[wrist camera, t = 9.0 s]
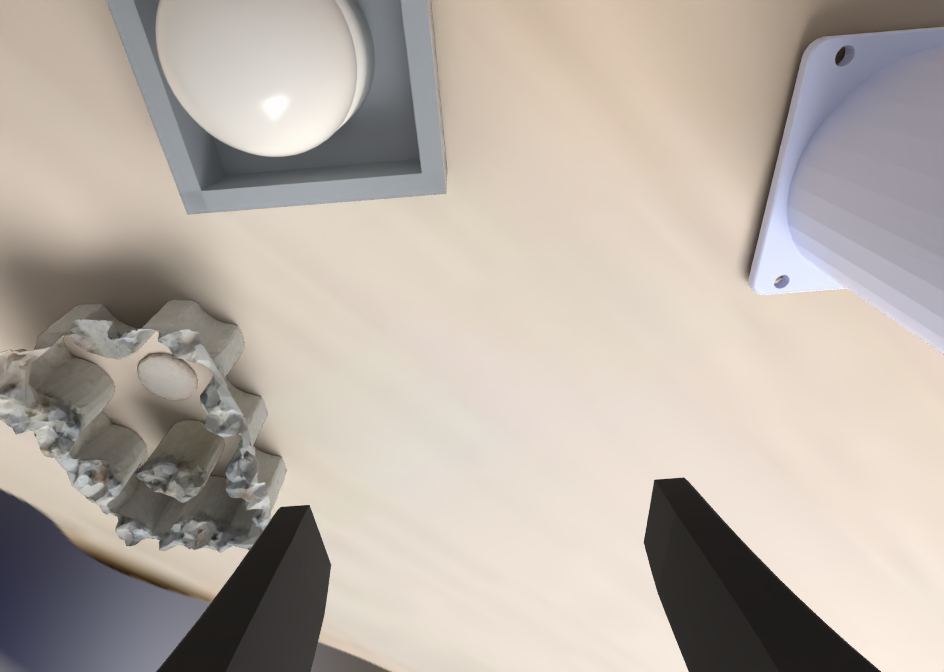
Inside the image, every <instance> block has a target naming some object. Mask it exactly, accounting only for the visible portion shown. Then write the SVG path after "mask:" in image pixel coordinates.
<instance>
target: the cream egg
mask: <svg viewBox="0 0 944 672" xmlns="http://www.w3.org/2000/svg"><path fill="white" fill-rule="evenodd" d="M155 30H156V44H157V50H158V56H159V59H160V63H161V66H162V70H163V72H164V75H165V77H166V79H167V82H168V84H169V86H170V88H171V89H172V91H173V93H174V95H175V96H176V98H177V99H178V101H179V102H180V104H181V105H182V107H183V108H184V109H185V110H186V111H187V113H188V114H189V115H190V116H191V117H192V118H193V119H194V120H195V121H196V122H197V123H198V124H199V125H200V126H201V127H202V128H203V129H204V130H206V131H207V132H208V133H209V134H211V135H212V136H214V137H215V138H217V139H218V140H220V141H221V142H223V143H225V144H227V145H229V146H231V147H233V148H236V149H239V150H241V151H244V152H247V153H251V154H255V155H259V156H267V157H284V156H291V155H297V154H300V153H303V152H306V151H308V150H310V149H313V148H315V147H317V146H318V145H320V144H321V143H323V142H324V141H326V140H327V139H328V138H329V137H331V136H332V135H333V134H334V133H335V132H336V131H337V130H338V129H339V128H340V127H341V126H342V125H343V124H345V123H346V122H347V121H348V120H349V119H350V118H351V117H352V116H353V115H354V114H355V113H356V112H357V111H358V110H359V109H360V107H361V106H362V105H363V103H364V101H365V100H366V98H367V96H368V93H369V91H370V89H371V85H372V81H373V77H374V70H375V51H374V43H373V39H372V34H371V31H370V28H369V25H368V22H367V20H366V18H365V16H364V13H363V12H362V10H361V8H360V6H359V5H358V3H357V2H356V0H160V1H159V5H158V10H157V14H156V27H155Z"/></svg>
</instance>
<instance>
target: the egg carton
mask: <svg viewBox="0 0 944 672" xmlns="http://www.w3.org/2000/svg"><path fill="white" fill-rule="evenodd" d="M155 331H157V332H159V338H158V342H161V343H163V344H164V345H166V346H168V347H169V349H170V350H171V352H172V354H173V355H174V356H173V355H170V354H166V353H155V354H151V355H148V356H147V357H145V358H144V359H142V360H141V361H140V364H139V366H138V368H137V370H138V376H139V379H140V381H141V382H142V385H144V386H145V387H146V388H147V389H148V390H149V391H151V392H152V393H154V394H155V395H157V396H160V397H162V398H165V399H168V400H182V399H186V398H188V397H190V396H191V395H193V394H194V392H195V390H196V389H197V384H198V379H197V375H196V373H195V372H194V370H193V369H192V368H191V367H190V366H189V365H188V364H187V363H186V362H184V361H183V360H181V359H187V360H189V361H191V362H195V363H200V364H203V365H204V366H206V367H207V368H208V369H209V370H210V371H211V372H212V373H213V374H214V376H213V378H212V380H211V381H210V383H209V384H208V386H207V387H206V388H205V390H204V391H203V393H202V394H201V395H200V401H201V405H202V407H203V410H204V412H205V414H206V417H207V418H206V424H205V423H203V422H201V421H195V420H184V421H180V422H177V423H175V424H174V425H173V426H172V427H171V429H170V430H169V431H168V433H167V434H166V435H165V437H164V438H163V439H162V441H161V442H160V444H159V445H158V447H157V448H156V449H155V451H154V452H153V453H152V455H151V456H150V458H149V459H148V460H147V462H146V463H145V464H144V465H143V466H142V467H141V468H140V469H139V470H138V471H137V472H136V473H135V470H136V469H137V467H138V466H139V464H140V463H141V461H142V460H143V458H144V457H145V455H146V454H147V446H146V443H145V442H144V440H143V439H142V438H141V437H140V436H139V435H138V434H137V433H135V432H134V431H133V430H131V429H128V428H126V427H123V426H119V425H115V424H112V423H111V421H110V420H109V418H108V417H107V416H106V415H105V414H104V412H103V411H102V410H103V408H104V407H105V406H106V404H107V403H108V402H109V401H110V399H111V398H112V396H113V394H114V391H115V386H114V383H113V380H112V379H111V378H110V376H109V375H108V374H107V373H106V372H105V371H104V370H103V369H102V368H101V367H99V366H98V365H96V364H94V363H91V362H89V361H86V360H84V359H80V358H74V357H73V356H72V355H71V354H70V352H69V350H68V349H67V347H66V345H65V343H64V341H63V337H64V336H71V337H72V339H73V340H74V342H75V343H76V344H77V345H78V346H80V347H81V348H83V349H84V350H85V351H87V352H91V353H94V354H97V355H101V356H104V357H107V358H112V359H122V358H125V357H128V356H130V355H132V354H134V353H136V352H137V351H138V350H139V349H140V348H141V347H142V346H143V345H144V344H145V343H146V341H147V340H148V339H149V338H150V337H151V336H152V335H153V334H154V333H155ZM244 349H245V342H244V338H243V335H242V332H241V330H240V328H239V327H238V326H236V325H234V324H227V323H223V322H220V321H217V320H215V319H214V318H212V317H211V316H209V315H208V314H207V313H206V312H205V311H204V310H203V309H202V308H201V306H200V305H199V304H198V303H197V302H195V301H193V300H175V299H174V300H170V301H168V302H167V303H166V304H165V305H164V306H163V307H162V308H161V309H160V311H159V312H158V313H156V314H155V315H154V316H153V317H152V318H151V319H150V320H149V322H148V323H147V324H146V325H144V326H143V327H142V328H141V329H139V328H134V327H131V326H128V325H126V324H124V323H122V322H120V321H119V320H117V319H116V318H115V317H114V316H113V315H112V314H111V313H110V312H109V311H108V310H107V309H106V307H105V306H104V305H102V304H81V305H76V306H75V307H74V308H72V309H71V310H70V311H69V312H67V313H66V314H65V315H64V316H62V317H61V318H60V319H59V320H57V321H56V322H54V323H53V324H51V325H50V326H49V327H48V329H47V330H46V331H45V332H43V333H41V334H40V335H39V336H38V337H37V341H36V346H35V348H34V350H32V351H27V350H25V349H20V350H16V351H12V350H7V351H4V352H1V353H0V420H2V421H4V422H5V423H6V424H7V425H8V426H10V427H12V428H13V430H14V432H15V434H20V433H23V432H26V431H33V432H34V435H35V437H36V439H37V441H38V443H39V446H40V450H41V451H42V453H43V454H44V456H46V457H51V458H55V459H56V460H57V462H58V463H59V464H60V465H61V466H62V467H63V468H64V469H65V470H66V471H67V474H68V477H69V479H70V482H71V485H72V486H73V487H74V488H75V489H77V490H78V491H79V492H80V493H81V494H82V495H84V496H85V497H86V498H87V499H88V500H90V501H91V502H92V503H94V504H97V505H99V506H100V508H101V510H102V511H103V513H105V514H107V515H114V516H117V517H118V523H117V526H116V530H115V531H116V533H117V535H118V537H119V538H120V539H122V540H125V543H126V546H133V545H136V544H137V543H139V542H140V541H141V540H143V539H146V538H152V539H158V540H160V541H159V550H161V551H166V550H168V549H170V548H173V547H175V546H177V545H184V546H185V547H187V548H188V549H191V548H192V549H194V550H196V549H200V548H210V549H213V550H217V551H219V552H220V553H221V552H223V551H224V550H226V549H228V548H229V547H231V546H236V547H240V548H244V549H248V550H250V549H251V548H252V546H253V545H254V543H255V542H256V540H257V539H258V538H259V536H260V535H261V533H262V532H263V530H264V529H265V527H266V526H267V525H268V523H269V522H270V520H271V519H270V514H271V510H272V509H273V506H274V504H275V502H276V499H277V496H278V493H279V490H280V488H281V486H282V484H283V481H284V477H285V474H286V472H287V469H286V466H285V463H284V460H283V458H282V457H279V456H274V455H270V454H267V453H264V452H262V451H260V450H258V449H257V448H255V447H254V446H253V445H254V443H255V441H256V439H257V436H258V434H259V432H260V430H261V428H262V426H263V423H264V421H265V420H266V418H267V416H268V412H267V409H266V406H265V402H264V400H263V398H262V397H261V396H256V395H252V394H247V393H245V392H243V391H241V390H239V389H237V388H236V387H234V386H233V385H232V384H231V383H230V381H229V380H228V379H227V378H226V375H227V374H228V373H229V371H230V370H231V368H232V366H233V365H234V363H235V362H236V361H237V359H238V358H239V356H240V355H241V353H242V352H243V350H244ZM179 358H181V359H179ZM232 435H239V436H241V437H242V441H241V443H240V444H239V447H238V449H237V451H236V453H235V455H234V457H233V459H232V460H231V461H230V462H229V464H228V466H227V467H226V471H225V474H226V476H227V477H226V478H225V477H219V476H210V474H211V472H212V471H213V469H214V467H215V465H216V463H217V461H218V459H219V457H220V455H221V454H222V452H223V449H224V445H225V444H224V439H223V437H224V438H226V437H229V436H232Z"/></svg>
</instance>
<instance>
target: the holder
mask: <svg viewBox="0 0 944 672" xmlns="http://www.w3.org/2000/svg"><path fill="white" fill-rule="evenodd" d="M106 1H107V3H108V6H109V9H110V11H111V14H112V16H113V19H114V22H115V24H116V27H117V30H118V32H119V35H120V38H121V40H122V43H123V46H124V48H125V51H126V53H127V56H128V59H129V61H130V64H131V67H132V69H133V72H134V75H135V77H136V80H137V82H138V85H139V88H140V90H141V93H142V96H143V98H144V101H145V104H146V106H147V109H148V112H149V114H150V117H151V119H152V122H153V125H154V127H155V130H156V133H157V135H158V138H159V141H160V143H161V146H162V148H163V151H164V154H165V156H166V159H167V162H168V164H169V167H170V170H171V172H172V175H173V178H174V180H175V183H176V185H177V188H178V191H179V193H180V196H181V199H182V201H183V204H184V207H185V209H186V212H187V214H200V213H212V212H225V211H237V210H250V209H262V208H275V207H287V206H300V205H312V204H324V203H337V202H349V201H362V200H374V199H387V198H399V197H412V196H424V195H436V194H446V187H447V163H446V153H445V142H444V132H443V121H442V111H441V101H440V90H439V80H438V69H437V59H436V48H435V38H434V27H433V17H432V6H431V0H356V2H357V3H358V5H359V6H360V8H361V10H362V12H363V13H364V16H365V18H366V20H367V22H368V25H369V28H370V31H371V34H372V39H373V43H374V51H375V70H374V77H373V81H372V85H371V89H370V91H369V93H368V96H367V98H366V100H365V101H364V103H363V105H362V106H361V107H360V109H359V110H358V111H357V112H356V113H355V114H354V115H353V116H352V117H351V118H350V119H349V120H348V121H347V122H346V123H345V124H343V125H342V126H341V127H340V128H339V129H338V130H337V131H336V132H335V133H334V134H333V135H332V136H331V137H329V138H328V139H327V140H326V141H324V142H323V143H321V144H320V145H318V146H317V147H315V148H313V149H310V150H308V151H306V152H303V153H300V154H297V155H291V156H284V157H267V156H259V155H255V154H251V153H247V152H244V151H241V150H239V149H236V148H233V147H231V146H229V145H227V144H225V143H223V142H221V141H220V140H218V139H217V138H215V137H214V136H212V135H211V134H209V133H208V132H207V131H206V130H204V129H203V128H202V127H201V126H200V125H199V124H198V123H197V122H196V121H195V120H194V119H193V118H192V117H191V116H190V115H189V114H188V113H187V111H186V110H185V109H184V108H183V107H182V105H181V104H180V102H179V101H178V99H177V98H176V96H175V95H174V93H173V91H172V89H171V88H170V86H169V84H168V82H167V79H166V77H165V75H164V72H163V70H162V66H161V63H160V59H159V56H158V50H157V44H156V30H155V27H156V14H157V10H158V5H159V1H160V0H106Z"/></svg>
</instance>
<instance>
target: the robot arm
mask: <svg viewBox="0 0 944 672" xmlns="http://www.w3.org/2000/svg"><path fill="white" fill-rule="evenodd" d="M842 47H844V48H845V56H844V58H843V60H842V61H841V62H840V63H839V64H837V65H836V63H835V56H836V54H837V52H838V51H839V50H840V49H841V48H842ZM782 275H783V278H782V280H781V281H779V282H778V283H775V284H774V282H775V280H776V279H777V278H778V277H779V276H782ZM748 285H749V287H750V288H751V289H752V290H753V291H754V292H755V293H757V294H759V295H769V294H782V293H795V292H808V291H821V290H834V289H848V290H850V291H851V292H853V293H854V294H855V295H857V296H858V297H860V298H861V299H863V300H864V301H866V302H867V303H869V304H870V305H872V306H873V307H875V308H876V309H877V310H879V311H880V312H882V313H883V314H885V315H886V316H888V317H889V318H891V319H892V320H894V321H895V322H897V323H898V324H899V325H901V326H902V327H904V328H905V329H907V330H908V331H910V332H911V333H913V334H914V335H916V336H917V337H919V338H920V339H921V340H923V341H924V342H926V343H927V344H929V345H930V346H932V347H933V348H935V349H936V350H938V351H939V352H941V353H942V354H943V355H944V27H933V28H921V29H909V30H897V31H885V32H873V33H861V34H849V35H837V36H825V37H821V38H818V39H816V40H815V41H813V42H812V43H810V45H809V46H808V47H807V48H806V50H805V51H804V54H803V56H802V59H801V63H800V67H799V71H798V75H797V80H796V84H795V88H794V92H793V96H792V100H791V105H790V109H789V113H788V117H787V121H786V125H785V130H784V134H783V138H782V142H781V146H780V150H779V155H778V159H777V163H776V167H775V171H774V175H773V180H772V184H771V188H770V192H769V196H768V200H767V205H766V209H765V213H764V217H763V221H762V225H761V230H760V234H759V238H758V242H757V246H756V250H755V255H754V259H753V263H752V267H751V271H750V275H749V280H748ZM644 545H645V549H646V552H647V556H648V560H649V564H650V567H651V571H652V574H653V578H654V581H655V585H656V588H657V592H658V595H659V597H660V600H661V602H662V605H663V608H664V610H665V613H666V615H667V618H668V620H669V623H670V625H671V628H672V631H673V633H674V636H675V638H676V641H677V643H678V646H679V648H680V651H681V653H682V656H683V658H684V661H685V663H686V666H687V668H688V671H689V672H881V671H880V670H878V669H877V668H876V667H875V666H874V665H873V664H871V663H870V662H869V661H868V660H867V659H866V658H864V657H863V656H862V655H861V654H860V653H858V652H857V651H856V650H855V649H854V648H853V647H852V646H850V645H849V644H848V643H847V642H846V641H845V640H844V639H843V638H841V637H840V636H839V635H838V634H837V633H836V632H835V631H834V630H833V629H832V628H830V627H829V626H828V625H827V624H826V623H825V622H824V621H823V620H822V619H821V618H820V617H819V616H817V615H816V614H815V613H814V612H813V611H812V610H811V609H810V608H809V607H808V606H807V605H806V604H805V603H804V602H803V601H801V600H800V599H799V598H798V597H797V596H796V595H795V594H794V593H793V592H792V591H791V590H790V589H789V588H788V587H787V586H786V585H785V584H784V583H783V582H782V581H781V580H780V579H779V578H778V577H777V576H776V575H775V574H774V573H773V572H772V571H771V570H770V569H769V568H768V567H767V566H766V565H765V564H764V563H763V562H762V561H761V560H760V559H759V558H758V557H757V556H756V555H755V554H754V553H753V552H752V551H751V550H750V548H749V547H748V546H747V545H746V544H745V543H744V542H743V541H742V540H741V539H740V538H739V537H738V536H737V535H736V534H735V533H734V531H733V530H732V529H731V528H730V527H729V526H728V525H727V524H726V523H725V522H724V521H723V520H722V518H721V517H720V516H719V515H718V514H717V513H716V512H715V511H714V510H713V508H712V507H711V506H710V505H709V504H708V503H707V502H706V501H705V499H704V498H703V497H702V496H701V495H700V494H699V493H698V492H697V490H696V489H695V488H694V487H693V486H692V485H691V484H690V483H689V481H687V480H686V479H685V478H673V479H659V480H654V486H653V492H652V498H651V503H650V509H649V515H648V521H647V527H646V533H645V538H644ZM330 569H331V563H330V561H329V558H328V555H327V552H326V549H325V547H324V544H323V541H322V538H321V536H320V533H319V530H318V527H317V525H316V522H315V519H314V516H313V513H312V511H311V508H310V505H303V506H289V507H280V508H279V509H278V510H277V512H276V513H275V515H274V516H273V517H272V519H271V520H270V522H269V523H268V525H267V526H266V527H265V529H264V530H263V532H262V533H261V535H260V536H259V538H258V539H257V540H256V542H255V543H254V545H253V546H252V548H251V549H250V550H249V552H248V553H247V555H246V556H245V557H244V559H243V560H242V562H241V563H240V565H239V566H238V567H237V569H236V570H235V572H234V573H233V574H232V576H231V577H230V578H229V580H228V581H227V582H226V584H225V585H224V586H223V588H222V589H221V590H220V592H219V593H218V594H217V596H216V597H215V598H214V600H213V601H212V603H211V604H210V605H209V607H208V608H207V609H206V611H205V612H204V613H203V615H202V616H201V617H200V619H199V620H198V621H197V622H196V623H195V625H194V626H193V627H192V629H191V630H190V631H189V632H188V633H187V635H186V636H185V637H184V638H183V640H182V641H181V642H180V643H179V645H178V646H177V647H176V648H175V650H174V651H173V652H172V653H171V655H170V656H169V657H168V658H167V659H166V661H165V662H164V663H163V664H162V666H161V667H160V668H159V669H158V670H157V672H310V671H311V667H312V663H313V659H314V655H315V651H316V647H317V643H318V639H319V635H320V631H321V627H322V622H323V618H324V613H325V606H326V599H327V592H328V585H329V577H330Z"/></svg>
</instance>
